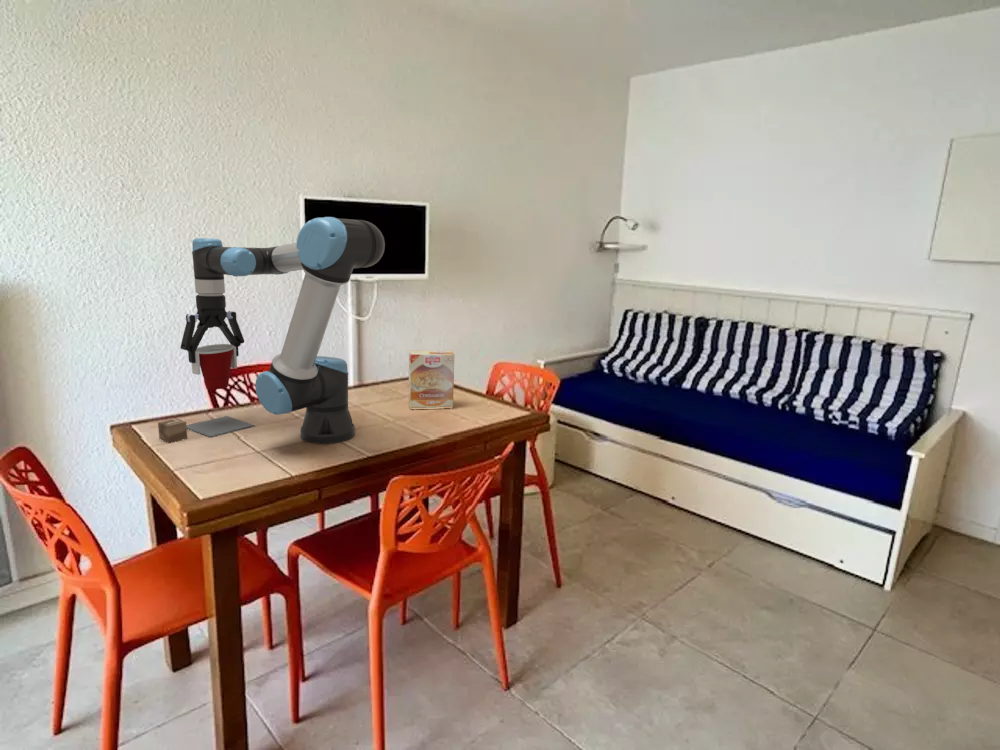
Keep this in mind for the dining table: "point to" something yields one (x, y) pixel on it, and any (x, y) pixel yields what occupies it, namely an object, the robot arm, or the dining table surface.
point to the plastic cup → (216, 364)
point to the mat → (218, 426)
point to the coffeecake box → (431, 379)
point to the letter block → (172, 430)
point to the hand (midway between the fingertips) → (215, 370)
